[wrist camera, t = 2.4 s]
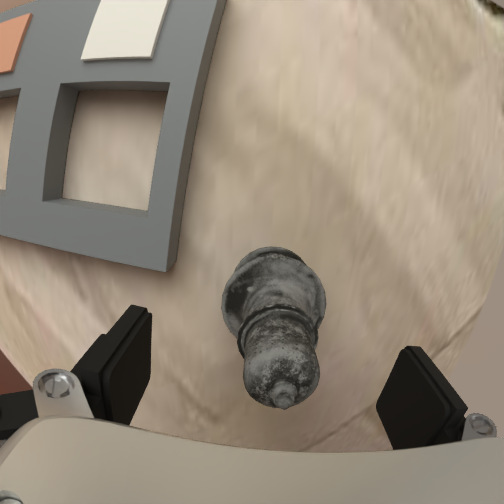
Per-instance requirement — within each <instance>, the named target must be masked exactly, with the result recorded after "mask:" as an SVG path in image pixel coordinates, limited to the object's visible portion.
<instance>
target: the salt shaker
mask: <svg viewBox="0 0 504 504" xmlns="http://www.w3.org/2000/svg"><path fill="white" fill-rule="evenodd" d="M221 309H222V313H223V318H224V321H225V323H226V325H227V327H228V328H229V330H230V332H231V333H232V334H233V335H234V336H235V337H236V338H237V344H238V348H239V352H240V353H241V355H242V357H243V358H244V370H243V380H244V384H245V388H246V390H247V392H248V393H249V395H250V396H251V397H252V398H253V399H255V400H256V401H257V402H259V403H261V404H264V405H266V406H269V407H273V408H281V409H287V408H289V407H291V406H294V405H297V404H299V403H300V402H302V401H304V400H305V399H307V398H308V397H309V396H310V395H311V394H312V393H313V392H314V390H315V389H316V387H317V385H318V382H319V377H320V369H319V363H318V360H317V357H316V353H315V349H316V346H317V342H318V331H317V329H318V328H319V326H320V324H321V322H322V320H323V318H324V314H325V309H326V297H325V291H324V288H323V286H322V283H321V281H320V279H319V278H318V276H317V275H316V274H315V273H314V271H313V270H312V269H311V268H309V267H308V266H307V265H306V264H305V263H304V262H303V260H302V259H301V258H300V257H299V256H298V255H296V254H295V253H293V252H292V251H290V250H287V249H284V248H281V247H265V248H260V249H257V250H255V251H253V252H251V253H249V254H248V255H247V256H246V257H244V258H243V259H242V260H241V261H240V263H239V264H238V266H237V267H236V269H235V272H234V274H233V275H232V276H231V278H230V279H229V281H228V282H227V284H226V286H225V289H224V292H223V295H222V307H221Z"/></svg>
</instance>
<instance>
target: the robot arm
mask: <svg viewBox="0 0 504 504" xmlns="http://www.w3.org/2000/svg"><path fill="white" fill-rule="evenodd" d="M151 333H152V313H148V310H147V308H144V307H140V306H136V305H131V306H130V307H129V308H128V309H127V310H126V311H125V313H124V314H123V315H122V316H121V317H120V319H119V320H118V321H117V322H116V323H115V325H114V326H113V327H112V328H111V329H110V331H109V332H108V333H107V334H101V335H100V336H99V337H98V339H97V340H96V341H95V342H94V343H93V345H92V346H91V347H90V348H89V349H88V351H87V352H86V353H85V354H84V355H83V357H82V358H81V359H80V360H79V361H78V363H77V364H76V365H75V366H74V368H73V369H72V370H71V371H70V372H69V371H67V370H63V369H49V370H45V371H43V372H41V373H39V374H38V375H37V376H36V377H35V379H34V381H33V390H28V391H22V392H16V393H9V394H2V395H0V504H504V438H499V437H496V434H497V430H496V426H495V424H494V423H493V421H492V420H491V419H489V418H488V417H487V416H484V415H482V414H479V413H473V414H469V415H468V416H467V417H466V418H465V417H464V414H465V412H466V411H467V409H468V407H467V406H466V404H465V403H464V402H463V400H462V399H461V398H460V397H459V395H458V394H457V392H456V391H455V390H454V388H453V387H452V386H451V385H450V383H449V382H448V381H447V379H446V378H445V377H444V376H443V374H442V373H441V372H440V370H439V369H438V368H437V367H436V365H435V364H434V363H433V362H432V360H431V359H430V358H429V357H428V355H427V354H426V353H425V352H424V350H423V349H422V348H421V347H418V346H406V347H405V348H404V349H402V350H401V351H400V353H399V355H398V358H397V360H396V362H395V364H394V367H393V369H392V371H391V373H390V376H389V378H388V380H387V382H386V384H385V386H384V388H383V390H382V392H381V394H380V396H379V398H378V400H377V403H376V410H377V412H378V415H379V417H380V419H381V421H382V424H383V426H384V428H385V431H386V433H387V435H388V438H389V440H390V442H391V445H392V447H393V449H394V450H386V451H370V452H294V451H278V450H265V449H255V448H245V447H237V446H230V445H222V444H216V443H210V442H204V441H198V440H193V439H187V438H182V437H178V436H173V435H168V434H164V433H160V432H155V431H150V430H146V429H141V428H137V427H133V426H129V425H130V423H131V420H132V418H133V416H134V414H135V411H136V409H137V407H138V405H139V402H140V400H141V398H142V396H143V394H144V392H145V389H146V387H147V385H148V383H149V380H150V374H151Z"/></svg>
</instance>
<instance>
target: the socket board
mask: <svg viewBox="0 0 504 504" xmlns="http://www.w3.org/2000/svg"><path fill="white" fill-rule="evenodd" d="M225 4H226V0H36V1H33V2H30V3H27V4H24V5H21V6H18V7H15V8H13V9H10V10H7V11H5V12H2V13H0V98H4V97H11V96H19V100H18V104H17V109H16V114H15V119H14V125H13V131H12V137H11V143H10V151H9V159H8V168H7V179H6V190H0V235H2V236H6V237H10V238H14V239H18V240H22V241H26V242H30V243H34V244H38V245H43V246H47V247H51V248H55V249H60V250H64V251H68V252H73V253H77V254H82V255H86V256H91V257H95V258H100V259H104V260H109V261H113V262H118V263H123V264H128V265H132V266H137V267H142V268H147V269H152V270H157V271H162V272H167V270H168V269H169V268H170V267H171V266H172V265H173V264H174V263H175V262H176V259H177V250H178V242H179V234H180V227H181V219H182V212H183V205H184V198H185V192H186V185H187V179H188V173H189V167H190V161H191V155H192V150H193V144H194V139H195V133H196V128H197V123H198V118H199V113H200V108H201V103H202V98H203V93H204V89H205V84H206V80H207V75H208V71H209V66H210V62H211V58H212V54H213V50H214V45H215V41H216V37H217V34H218V30H219V26H220V22H221V18H222V15H223V11H224V7H225ZM82 90H142V91H163V92H168V95H167V100H166V105H165V110H164V114H163V119H162V124H161V130H160V135H159V141H158V146H157V152H156V158H155V164H154V171H153V177H152V184H151V191H150V199H149V207H148V211H144V210H138V209H132V208H125V207H119V206H112V205H106V204H99V203H93V202H86V201H79V200H72V199H65V198H62V191H63V181H64V172H65V164H66V156H67V149H68V143H69V137H70V131H71V125H72V120H73V115H74V110H75V105H76V101H77V96H78V92H79V91H82Z"/></svg>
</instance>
